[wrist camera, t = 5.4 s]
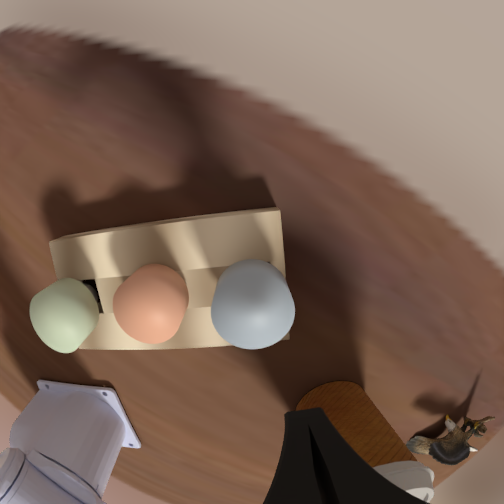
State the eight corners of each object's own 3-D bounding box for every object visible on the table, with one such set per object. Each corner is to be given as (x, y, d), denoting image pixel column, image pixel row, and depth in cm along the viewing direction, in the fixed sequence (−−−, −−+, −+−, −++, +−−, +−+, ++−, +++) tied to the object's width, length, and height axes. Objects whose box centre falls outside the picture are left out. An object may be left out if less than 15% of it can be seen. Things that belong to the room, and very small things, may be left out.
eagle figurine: (481, 389, 22) (422, 435, 21) (505, 437, 17) (447, 488, 16) (451, 408, 27) (396, 444, 26) (471, 448, 23) (417, 489, 21)
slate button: (223, 314, 18) (217, 352, 14) (214, 253, 17) (204, 278, 13) (285, 307, 18) (296, 344, 14) (281, 246, 17) (292, 269, 13)
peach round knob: (145, 312, 19) (123, 344, 15) (132, 258, 18) (105, 280, 14) (198, 308, 19) (187, 342, 15) (189, 252, 18) (173, 274, 14)
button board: (90, 336, 20) (79, 348, 18) (64, 235, 18) (48, 241, 16) (286, 324, 20) (289, 339, 18) (276, 206, 18) (280, 210, 16)
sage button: (73, 321, 18) (42, 351, 14) (58, 270, 17) (22, 292, 13) (117, 320, 18) (90, 354, 14) (103, 265, 17) (69, 289, 13)
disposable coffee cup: (288, 362, 21) (318, 502, 9) (397, 363, 21) (468, 465, 10) (267, 441, 23) (276, 553, 11) (361, 438, 24) (397, 532, 12)
